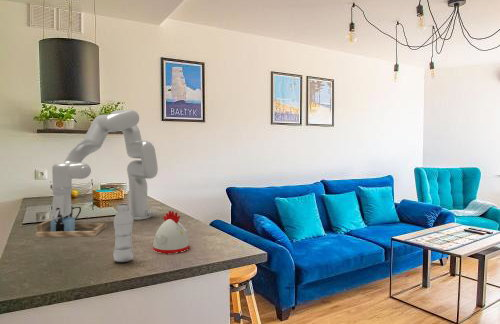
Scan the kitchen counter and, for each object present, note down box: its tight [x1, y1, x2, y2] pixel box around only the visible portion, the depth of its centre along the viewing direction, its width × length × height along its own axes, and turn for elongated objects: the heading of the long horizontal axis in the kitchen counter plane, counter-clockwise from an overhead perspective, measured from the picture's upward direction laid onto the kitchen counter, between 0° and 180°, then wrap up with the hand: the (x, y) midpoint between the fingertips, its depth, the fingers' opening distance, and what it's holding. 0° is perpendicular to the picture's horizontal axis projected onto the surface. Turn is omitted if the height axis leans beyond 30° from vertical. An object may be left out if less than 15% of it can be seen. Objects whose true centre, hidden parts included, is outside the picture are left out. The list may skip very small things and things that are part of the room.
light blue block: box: [50, 216, 76, 232], centre depth 160 cm, size 8×6×6 cm
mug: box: [59, 205, 82, 221], centre depth 178 cm, size 8×12×10 cm
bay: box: [35, 217, 107, 238], centre depth 161 cm, size 24×16×6 cm, turn 96°
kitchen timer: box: [152, 210, 190, 253], centre depth 141 cm, size 14×14×15 cm
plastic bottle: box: [112, 203, 134, 263], centre depth 125 cm, size 6×7×20 cm
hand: (63, 230), depth 160 cm, fingers closed on light blue block, 6 cm apart
